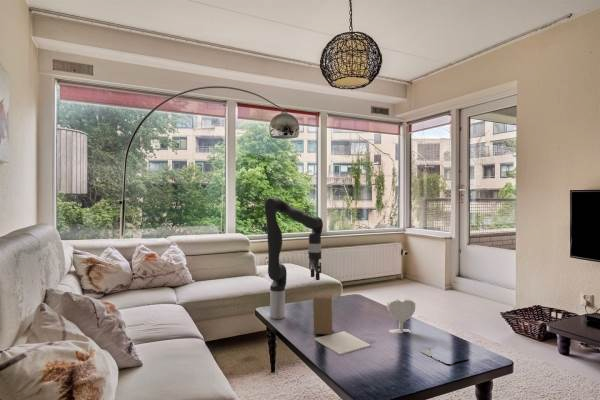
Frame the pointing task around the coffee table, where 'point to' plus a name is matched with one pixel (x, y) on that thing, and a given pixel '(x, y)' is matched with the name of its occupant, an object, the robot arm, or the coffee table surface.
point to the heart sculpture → (401, 312)
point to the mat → (342, 342)
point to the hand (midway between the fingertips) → (315, 278)
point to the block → (322, 313)
